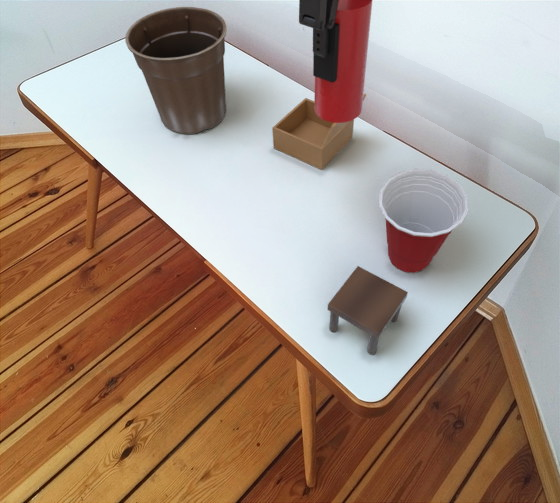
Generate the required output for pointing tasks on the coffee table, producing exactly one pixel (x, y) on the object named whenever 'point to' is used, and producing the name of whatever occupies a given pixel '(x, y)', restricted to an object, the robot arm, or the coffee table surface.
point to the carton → (309, 136)
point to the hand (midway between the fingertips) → (340, 63)
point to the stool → (366, 304)
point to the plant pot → (182, 65)
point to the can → (346, 65)
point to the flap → (335, 129)
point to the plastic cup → (420, 215)
